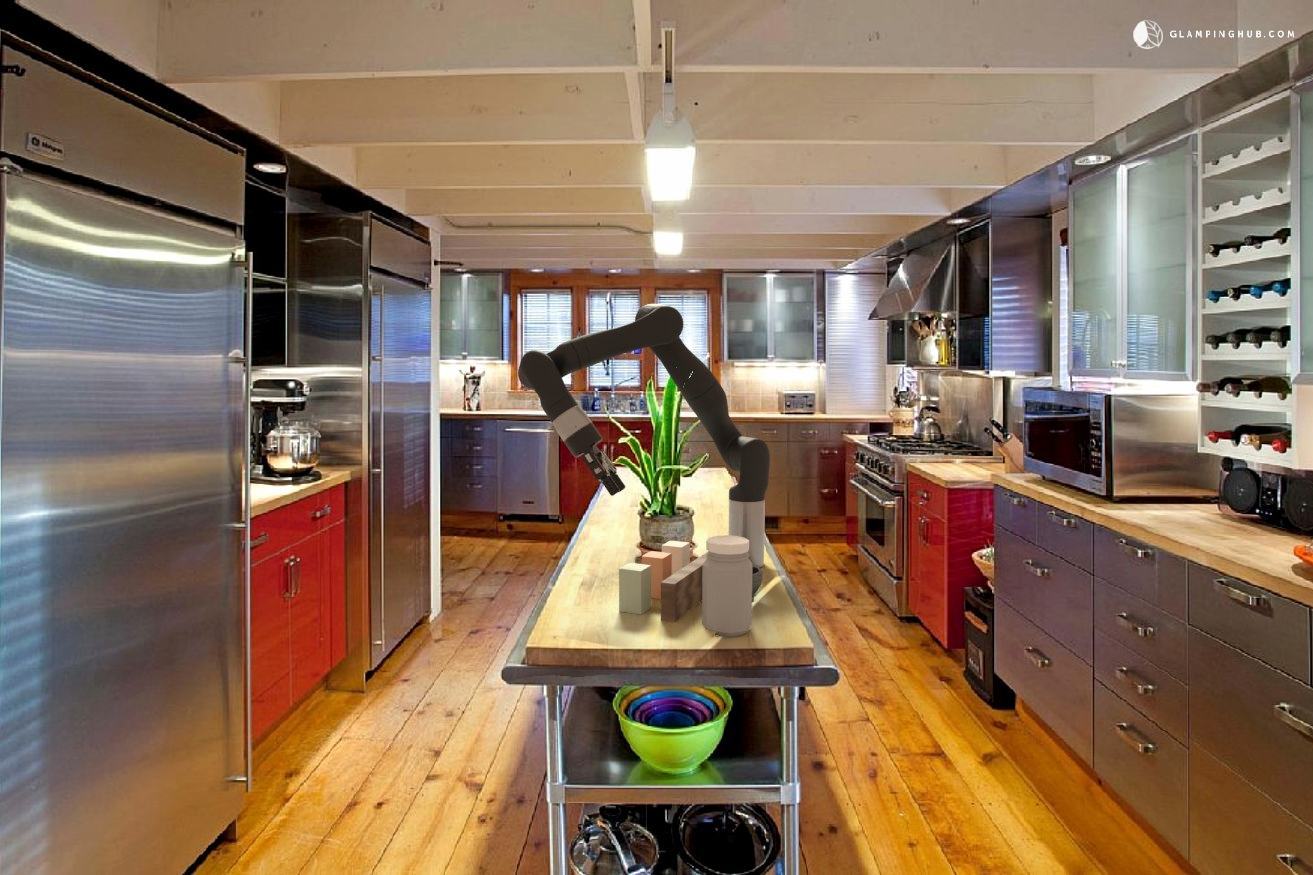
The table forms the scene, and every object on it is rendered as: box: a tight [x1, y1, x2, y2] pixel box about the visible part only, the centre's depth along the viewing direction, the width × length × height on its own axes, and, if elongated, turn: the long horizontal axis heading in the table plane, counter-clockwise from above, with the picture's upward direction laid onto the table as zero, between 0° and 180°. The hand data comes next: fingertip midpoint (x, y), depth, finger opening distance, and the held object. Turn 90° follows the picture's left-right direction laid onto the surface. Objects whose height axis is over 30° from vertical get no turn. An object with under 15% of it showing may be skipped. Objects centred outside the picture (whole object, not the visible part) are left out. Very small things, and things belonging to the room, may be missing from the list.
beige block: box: [661, 540, 691, 575], centre depth 179 cm, size 5×5×9 cm
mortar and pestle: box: [748, 556, 763, 603], centre depth 169 cm, size 11×9×12 cm
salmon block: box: [641, 550, 672, 600], centre depth 169 cm, size 5×5×9 cm
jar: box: [701, 534, 753, 638], centre depth 151 cm, size 10×10×18 cm
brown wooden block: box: [660, 551, 708, 623], centre depth 169 cm, size 30×18×9 cm, turn 156°
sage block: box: [618, 562, 652, 615], centre depth 159 cm, size 5×5×9 cm
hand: (619, 491), depth 168 cm, fingers open, 8 cm apart
